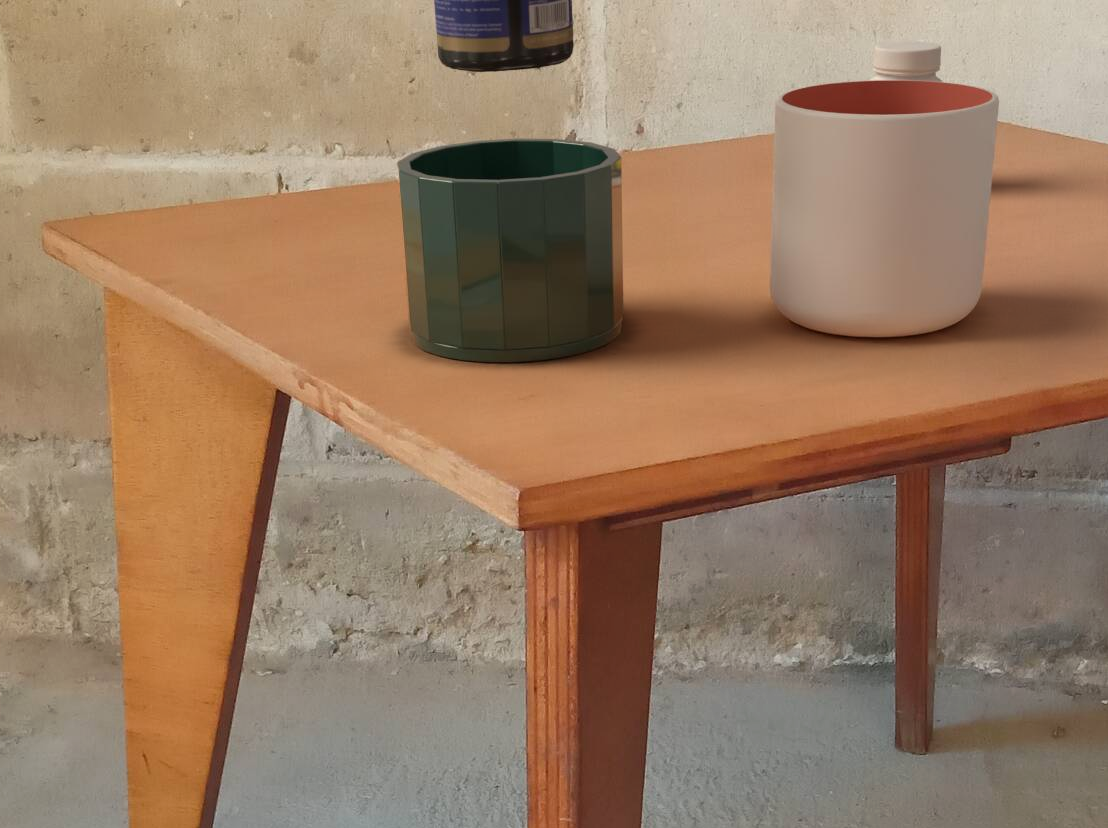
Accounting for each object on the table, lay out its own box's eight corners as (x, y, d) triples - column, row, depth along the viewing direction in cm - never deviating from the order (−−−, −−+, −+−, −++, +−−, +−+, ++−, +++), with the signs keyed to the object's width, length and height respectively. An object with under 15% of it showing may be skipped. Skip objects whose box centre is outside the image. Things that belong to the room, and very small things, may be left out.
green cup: (642, 306, 85) (641, 139, 81) (592, 367, 76) (588, 184, 72) (449, 299, 87) (438, 137, 84) (380, 357, 79) (365, 179, 75)
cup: (765, 344, 79) (772, 117, 74) (771, 288, 87) (777, 81, 82) (987, 346, 77) (1009, 114, 72) (971, 288, 86) (989, 77, 81)
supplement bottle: (851, 195, 106) (858, 50, 101) (868, 179, 109) (876, 39, 105) (928, 199, 104) (939, 51, 100) (943, 183, 108) (954, 40, 103)
